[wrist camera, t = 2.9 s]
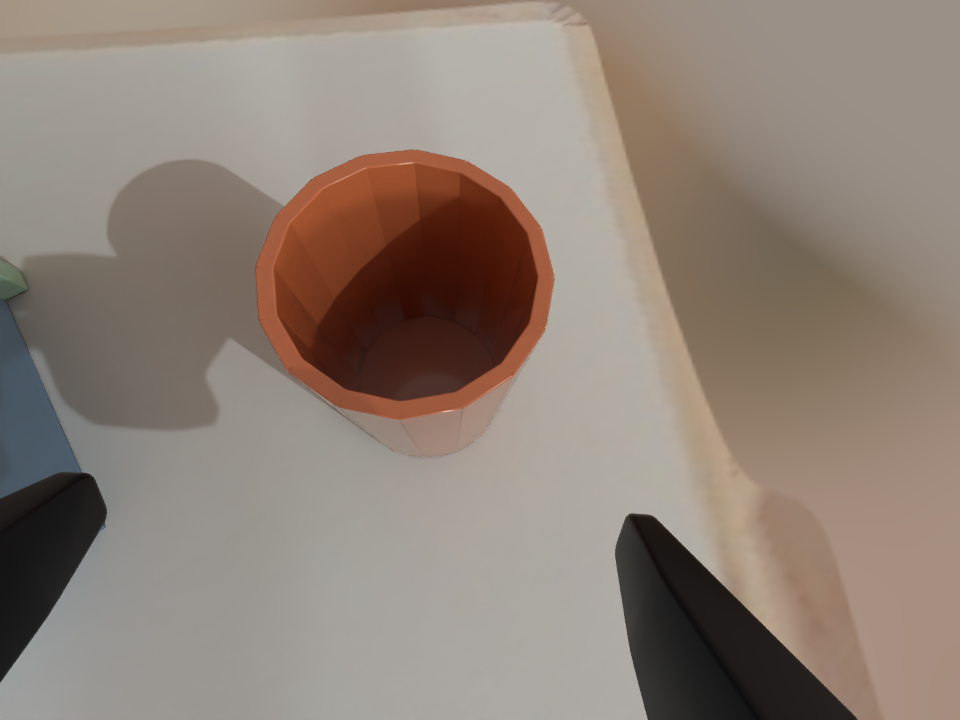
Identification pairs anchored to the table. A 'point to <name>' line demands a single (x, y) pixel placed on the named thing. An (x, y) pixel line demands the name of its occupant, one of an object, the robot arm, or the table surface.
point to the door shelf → (25, 406)
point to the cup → (406, 295)
